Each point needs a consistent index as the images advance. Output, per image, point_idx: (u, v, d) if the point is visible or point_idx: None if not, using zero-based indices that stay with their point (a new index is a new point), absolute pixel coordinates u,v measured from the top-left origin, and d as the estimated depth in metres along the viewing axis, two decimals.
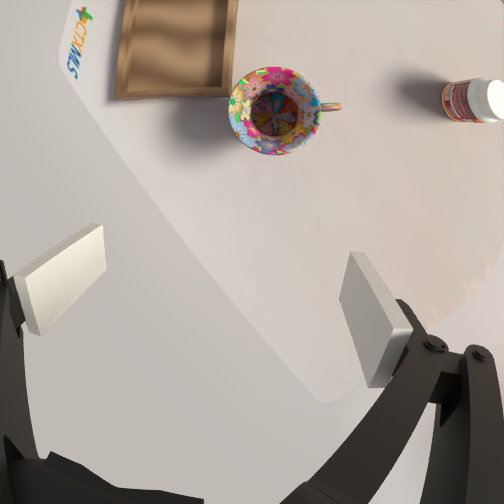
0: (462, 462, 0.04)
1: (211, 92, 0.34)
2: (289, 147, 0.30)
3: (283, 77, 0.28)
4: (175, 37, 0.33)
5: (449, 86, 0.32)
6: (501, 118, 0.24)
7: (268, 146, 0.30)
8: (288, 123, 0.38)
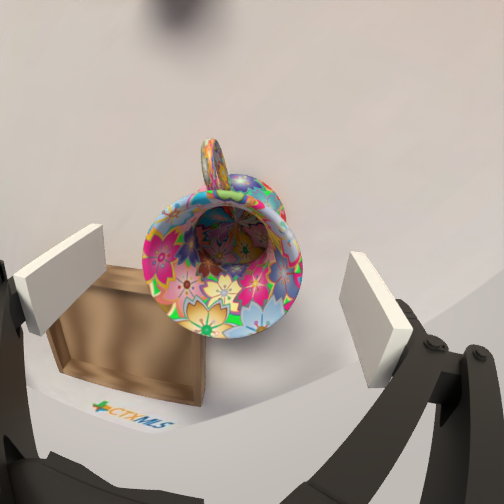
0: (462, 462, 0.04)
1: None
2: (289, 249, 0.17)
3: (161, 248, 0.18)
4: (126, 334, 0.32)
5: None
6: None
7: (285, 278, 0.18)
8: None
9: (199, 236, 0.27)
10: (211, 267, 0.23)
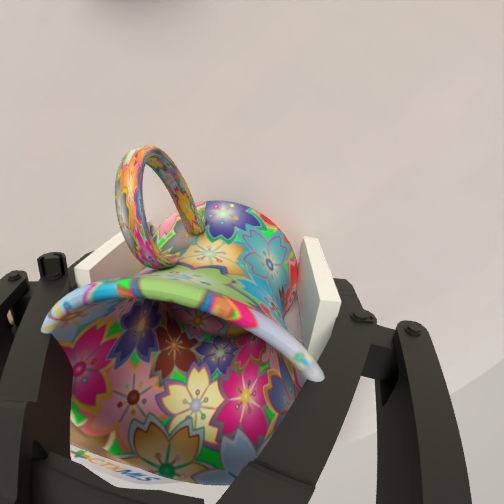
0: (411, 441, 0.05)
1: None
2: None
3: (74, 357, 0.09)
4: None
5: None
6: None
7: None
8: None
9: None
10: (178, 354, 0.14)
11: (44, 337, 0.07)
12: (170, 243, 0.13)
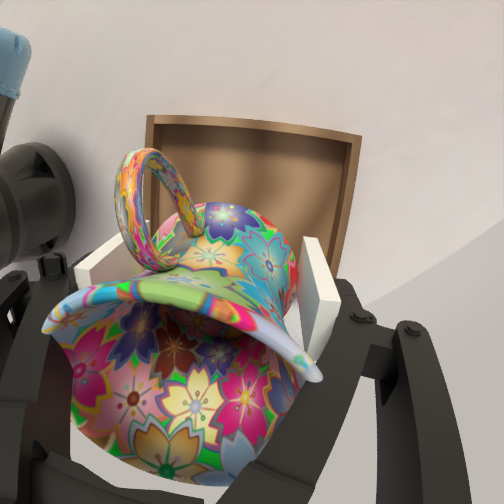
0: (411, 441, 0.05)
1: (357, 157, 0.26)
2: None
3: (74, 359, 0.09)
4: (253, 203, 0.30)
5: None
6: None
7: None
8: None
9: None
10: (178, 355, 0.14)
11: (44, 337, 0.07)
12: (170, 245, 0.13)
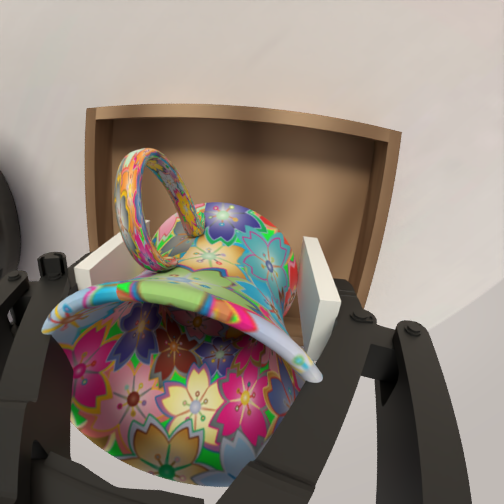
0: (411, 441, 0.05)
1: (394, 164, 0.17)
2: None
3: (74, 359, 0.09)
4: None
5: None
6: None
7: None
8: None
9: None
10: (178, 356, 0.14)
11: (44, 337, 0.07)
12: (170, 245, 0.13)
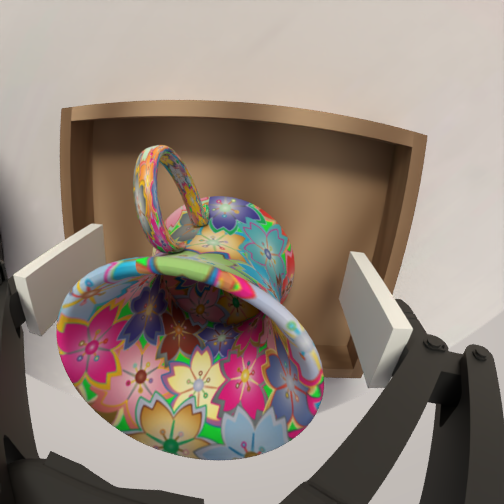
0: (462, 462, 0.04)
1: (419, 173, 0.14)
2: (302, 360, 0.09)
3: (88, 336, 0.10)
4: None
5: None
6: None
7: (292, 393, 0.10)
8: None
9: (171, 283, 0.19)
10: (182, 338, 0.15)
11: None
12: (177, 234, 0.14)
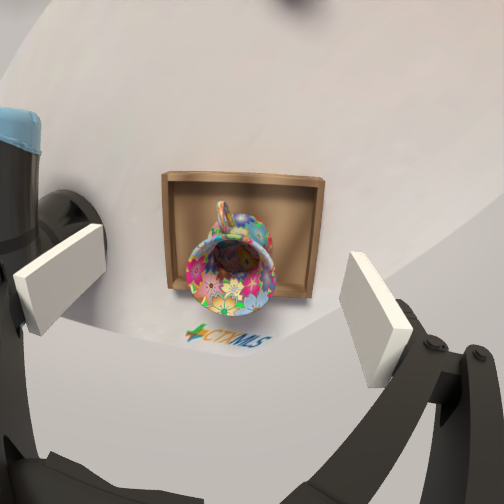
0: (462, 462, 0.04)
1: (322, 197, 0.36)
2: (268, 263, 0.31)
3: (196, 265, 0.32)
4: None
5: None
6: None
7: (268, 279, 0.32)
8: None
9: (216, 253, 0.41)
10: (225, 274, 0.37)
11: None
12: None
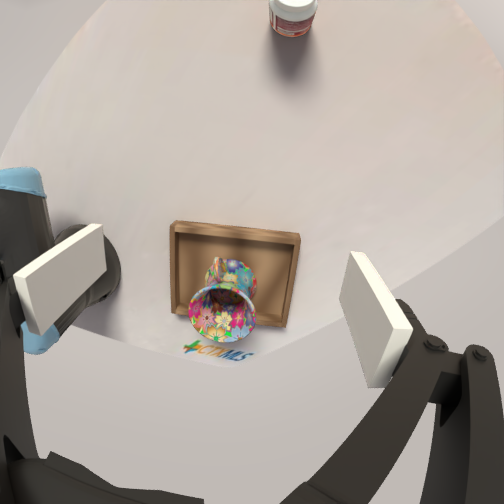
0: (462, 462, 0.04)
1: (298, 252, 0.46)
2: (250, 307, 0.41)
3: (196, 304, 0.42)
4: None
5: (277, 29, 0.35)
6: None
7: (250, 317, 0.42)
8: None
9: (211, 288, 0.51)
10: (218, 307, 0.47)
11: None
12: None
